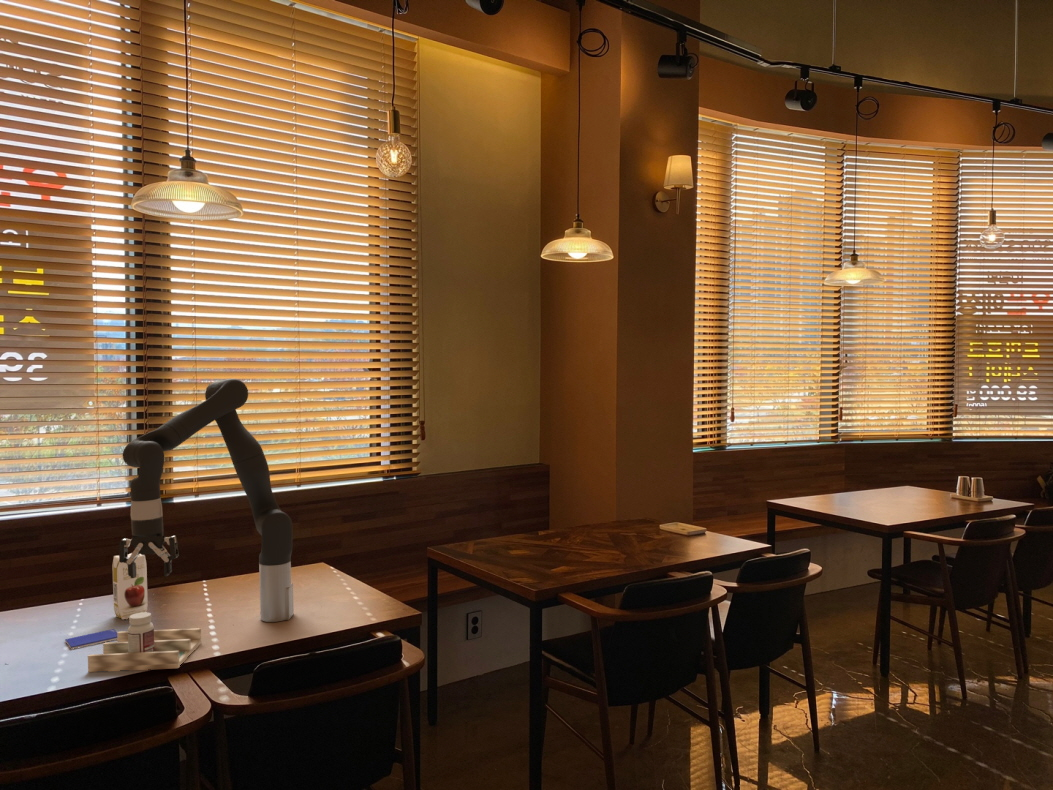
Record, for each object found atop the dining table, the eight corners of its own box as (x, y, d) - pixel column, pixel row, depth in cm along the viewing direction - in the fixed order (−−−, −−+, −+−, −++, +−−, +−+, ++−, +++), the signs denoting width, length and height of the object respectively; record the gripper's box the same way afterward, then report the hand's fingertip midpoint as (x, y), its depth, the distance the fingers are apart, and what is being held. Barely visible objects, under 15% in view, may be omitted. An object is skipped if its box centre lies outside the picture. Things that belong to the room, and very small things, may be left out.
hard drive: (113, 628, 226) (65, 638, 218) (120, 635, 220) (70, 646, 212) (113, 633, 226) (65, 644, 218) (120, 640, 220) (71, 651, 212)
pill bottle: (154, 652, 205) (153, 610, 205) (154, 659, 200) (153, 616, 200) (128, 656, 203) (127, 613, 202) (128, 664, 197) (126, 620, 197)
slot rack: (201, 643, 216) (201, 628, 216) (178, 668, 198) (177, 652, 197) (119, 646, 214) (118, 631, 213) (88, 672, 196) (87, 656, 195)
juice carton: (111, 616, 240) (110, 555, 239) (140, 609, 246) (139, 550, 246) (121, 621, 235) (119, 559, 234) (150, 614, 241) (148, 554, 241)
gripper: (179, 511, 209) (182, 570, 210) (124, 514, 207) (127, 574, 208) (170, 517, 201) (173, 578, 202) (112, 520, 200) (116, 582, 201)
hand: (150, 576), depth 205 cm, fingers open, 8 cm apart
